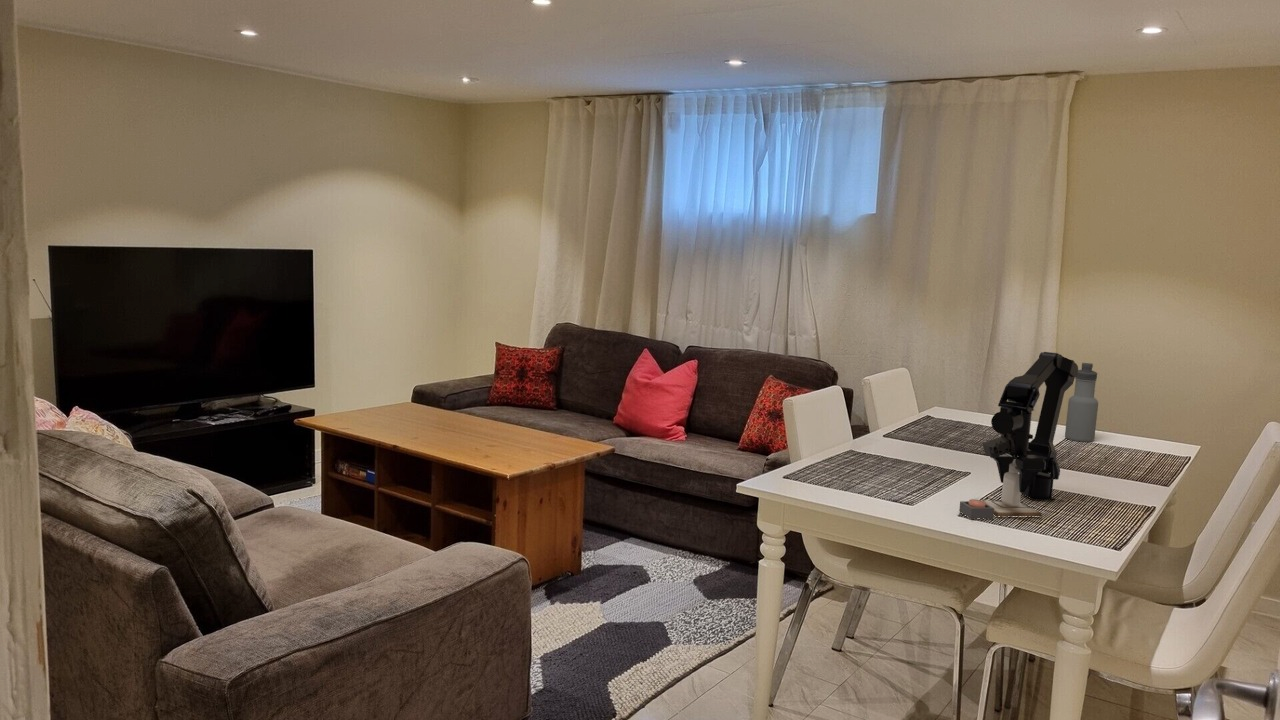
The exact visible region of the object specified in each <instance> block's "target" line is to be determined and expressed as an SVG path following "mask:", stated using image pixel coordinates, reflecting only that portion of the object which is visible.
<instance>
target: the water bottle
mask: <svg viewBox="0 0 1280 720" xmlns="http://www.w3.org/2000/svg"><path fill="white" fill-rule="evenodd" d="M1093 367H1094V364H1093V363H1089V362H1088V363H1087V362H1082V363H1081V369H1078V373H1077V376H1076V377H1075V379H1074V380H1075V384H1074V392H1073V395H1072V396H1070V397H1069V398H1068V402H1067V411H1066V412H1067V413H1066V421H1065V430H1064V437H1065V438H1066V439H1067V440H1070V441H1073V442H1079V441H1080V442H1081V443H1091V442H1093V441H1094V440H1095V439H1096V438H1095V437H1096V436H1095V435H1096V427H1097V420H1098V409H1099V400H1098V399H1097V398H1096V397H1095V391H1096V390H1095V389H1096V382H1097V380H1098V379H1097V378H1098V372H1096V371H1094V370H1093ZM1080 442H1079V443H1080Z"/></svg>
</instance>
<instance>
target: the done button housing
mask: <svg viewBox="0 0 1280 720" xmlns="http://www.w3.org/2000/svg"><path fill="white" fill-rule="evenodd" d="M958 509H959V511H960V512H962V513H963V514H965V515H966V516H968V517H969V518H971V519H973V518H975V519H977V518H980V519H983V518H985V519H988V518H989V519H993V520H994V516H993V513H994V508H993V507H991V506H989V505H988V504H986V503H985V508H973V507H971V506H969V500H968V501H967V500H966V501H964V500H961V501H960V502H959V508H958ZM959 511H958V512H959Z"/></svg>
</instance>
